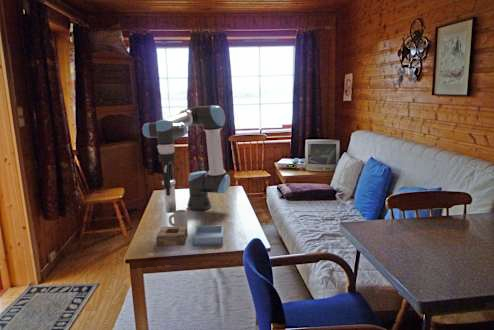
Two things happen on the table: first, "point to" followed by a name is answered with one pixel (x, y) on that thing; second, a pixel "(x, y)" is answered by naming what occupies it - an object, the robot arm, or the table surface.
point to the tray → (208, 235)
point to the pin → (172, 205)
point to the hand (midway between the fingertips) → (170, 199)
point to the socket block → (172, 236)
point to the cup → (179, 218)
